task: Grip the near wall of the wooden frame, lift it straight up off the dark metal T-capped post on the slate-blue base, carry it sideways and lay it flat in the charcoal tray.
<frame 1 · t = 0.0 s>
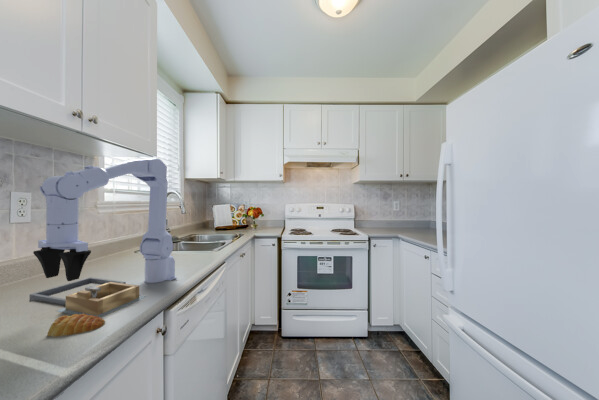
hand: (62, 278, 60), 10 cm above the countertop, tool pointing down, fingers open, 7 cm apart
stake base: (104, 306, 67), on the countertop
wooden frame: (104, 303, 67), point 1 cm above the countertop, touching stake base
stake post: (92, 311, 64), resting on stake base
pastry: (76, 333, 54), on the countertop
tray: (81, 294, 75), on the countertop
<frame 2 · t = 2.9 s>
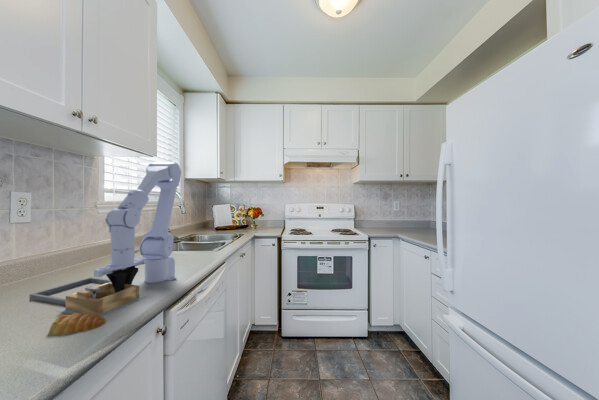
hand: (122, 294, 72), 2 cm above the countertop, tool pointing down, fingers closed on wooden frame
wooden frame: (104, 303, 67), point 1 cm above the countertop, touching gripper, stake base
everything else where it was.
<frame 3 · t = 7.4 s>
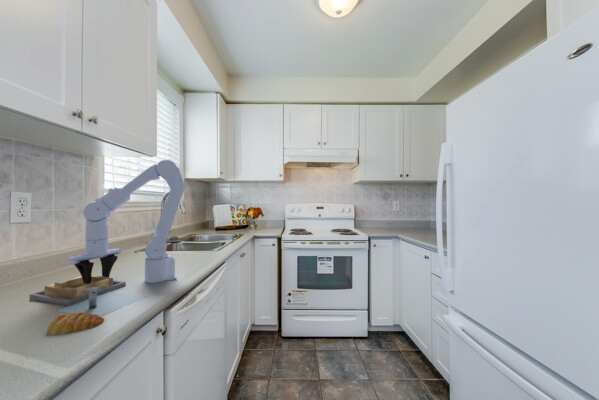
hand: (96, 280, 79), 3 cm above the countertop, tool pointing down, fingers open, 5 cm apart
wooden frame: (80, 293, 75), point 1 cm above the countertop, touching tray
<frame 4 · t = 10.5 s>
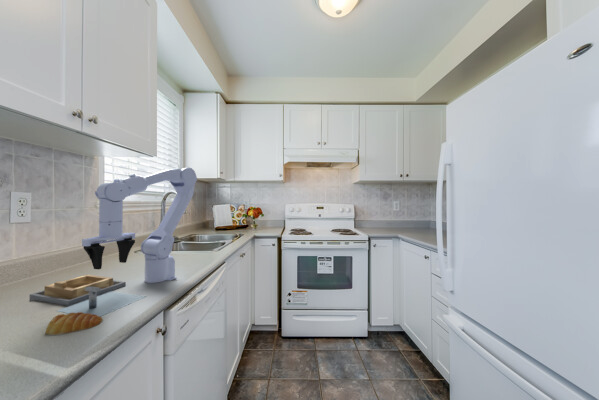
hand: (110, 265, 74), 9 cm above the countertop, tool pointing down, fingers open, 7 cm apart
at the end: wooden frame inside the target area on the tray (0.2 cm from its centre), point 0.6 cm above the tray's base; wooden frame tilted 0°; the gripper is holding nothing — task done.
